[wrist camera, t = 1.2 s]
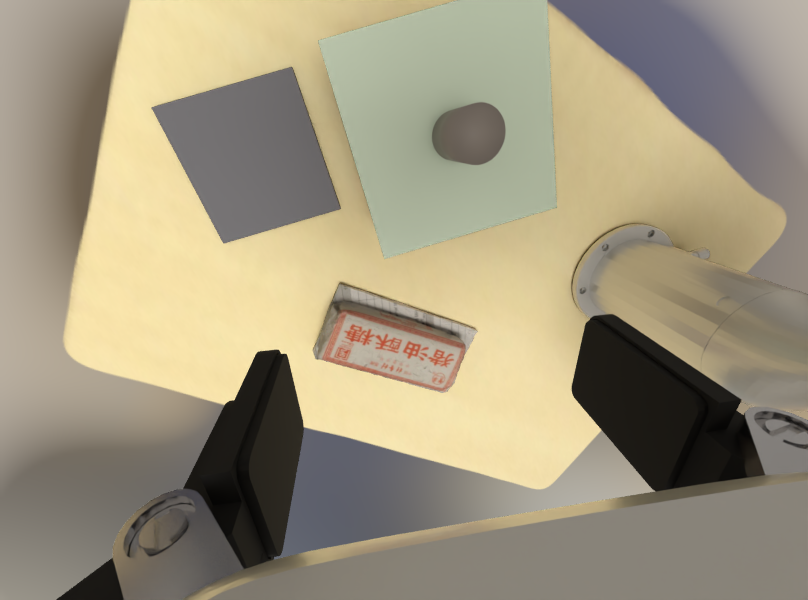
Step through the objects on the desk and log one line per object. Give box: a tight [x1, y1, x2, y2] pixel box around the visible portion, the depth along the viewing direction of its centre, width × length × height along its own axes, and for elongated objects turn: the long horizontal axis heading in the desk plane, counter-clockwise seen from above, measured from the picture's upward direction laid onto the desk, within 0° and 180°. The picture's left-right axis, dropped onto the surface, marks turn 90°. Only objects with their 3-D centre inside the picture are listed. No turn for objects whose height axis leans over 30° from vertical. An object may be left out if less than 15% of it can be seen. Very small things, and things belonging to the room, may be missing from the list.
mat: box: [152, 67, 341, 244], centre depth 30 cm, size 12×12×1 cm
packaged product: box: [313, 283, 478, 393], centre depth 39 cm, size 18×5×10 cm
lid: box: [318, 0, 557, 259], centre depth 22 cm, size 14×14×7 cm
